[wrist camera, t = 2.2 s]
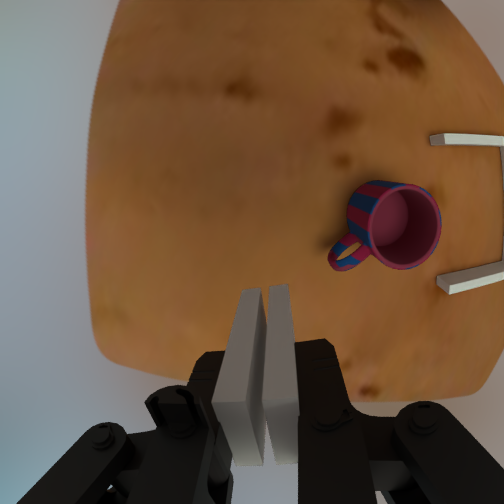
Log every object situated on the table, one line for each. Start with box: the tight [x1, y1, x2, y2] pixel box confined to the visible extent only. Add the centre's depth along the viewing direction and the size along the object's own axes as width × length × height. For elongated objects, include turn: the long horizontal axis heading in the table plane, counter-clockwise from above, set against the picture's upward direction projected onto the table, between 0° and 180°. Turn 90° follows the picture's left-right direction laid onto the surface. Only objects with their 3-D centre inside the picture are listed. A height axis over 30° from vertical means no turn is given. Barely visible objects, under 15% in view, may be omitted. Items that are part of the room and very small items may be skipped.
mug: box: [328, 180, 441, 271], centre depth 24 cm, size 7×10×7 cm
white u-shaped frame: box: [429, 133, 504, 294], centre depth 24 cm, size 16×12×3 cm
